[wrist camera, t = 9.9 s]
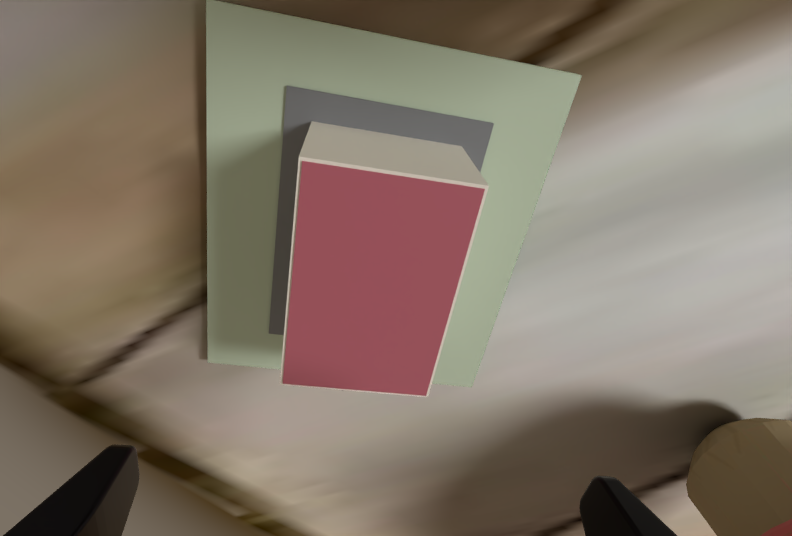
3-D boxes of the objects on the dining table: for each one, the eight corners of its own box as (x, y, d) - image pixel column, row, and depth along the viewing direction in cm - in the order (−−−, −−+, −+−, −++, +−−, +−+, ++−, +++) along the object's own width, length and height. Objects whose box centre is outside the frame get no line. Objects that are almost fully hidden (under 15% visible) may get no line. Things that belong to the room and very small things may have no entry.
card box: (416, 329, 20) (428, 398, 17) (293, 316, 20) (279, 385, 16) (461, 146, 17) (489, 186, 13) (311, 121, 16) (298, 157, 12)
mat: (576, 73, 16) (582, 75, 16) (470, 381, 23) (472, 388, 22) (209, -2, 14) (204, -2, 14) (210, 356, 21) (206, 363, 21)
